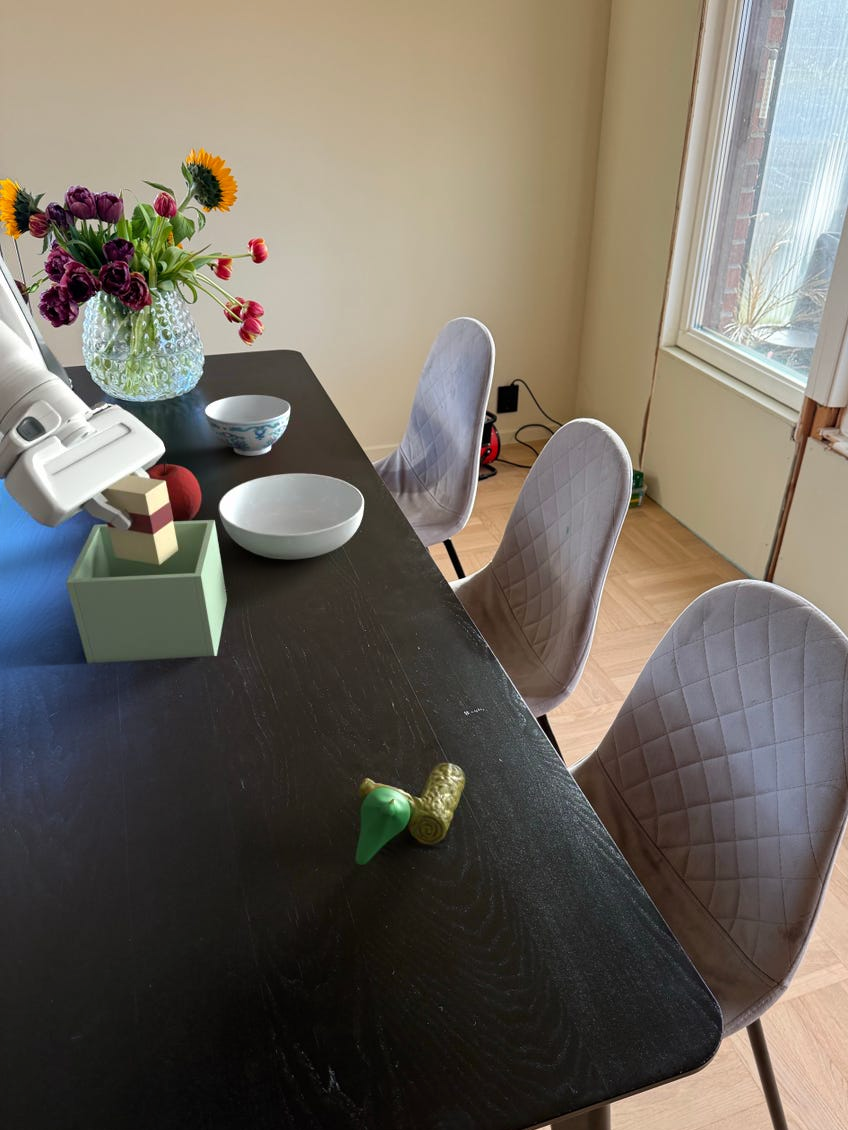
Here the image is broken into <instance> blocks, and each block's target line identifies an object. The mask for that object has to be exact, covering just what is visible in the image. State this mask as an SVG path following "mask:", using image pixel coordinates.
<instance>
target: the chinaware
mask: <svg viewBox="0 0 848 1130" xmlns="http://www.w3.org/2000/svg"><path fill="white" fill-rule="evenodd" d="M204 414H205V418H206V421H207V422H208V424H209V426H210V429H211V430H212V432H213V433H214V434H215V435H216V437H217V438H219V440H220V441H222V442H223V443H224V444H225V445H228V446H229V447H231V448H233V451H234V452H235V454H238V455H241V456H246V457H247V456H249V457H250V456H251V457H253V456H261V455H263V454H267V453H268V452H270V451H271V449H272V445H273V444H275V443H276V442H277V441H278V440H279V439H280V438H281V437H282V436H283V434H284V432H285V430H286V429H287V426H288V424H289V420H290V414H291V405H290V403H289V402H288V401H286V400H284V399H282V398H280V397H276V396H271V395H261V394H244V395H236V396H235V395H234V396H228V397H224V398H222V399H218V400H215V401H213V402H211V403H209V404H208V405H207V406H206V407H205V408H204Z"/></svg>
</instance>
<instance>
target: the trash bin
mask: <svg viewBox="0 0 848 1130" xmlns="http://www.w3.org/2000/svg"><path fill="white" fill-rule="evenodd" d="M173 524H174V529H175V535H176V540H177V545H178V551H177V552H175V553H174V554H173V555H172V556H170V557H169V558H168V559H167V560H165V561H164V562H163V563H161V564H160V565H156V564H151V563H145V562H140V561H134V560H129V559H123V558H117V557H115V553H114V549H113V544H112V540H111V536H110V531H109V527H108V526H107V523H105V524H103V523H102V524H94V525H93V526H92V529H90V533H89V535H88V536H87V539H86V540H85V543H84V545H83V546H82V549H81V551H80V553H79V555H78V557H77V559H76V561H75V562H74V565H73V567H72V569H71V571H70V573H69V576H68V578H67V579H66V581H65V586H66V588H67V592H68V596H69V600H70V603H71V607H72V612H73V614H74V618H75V621H76V626H77V630H78V634H79V637H80V640H81V645H82V649H83V651H84V656H85V659H86V663H87V664H100V663H117V662H119V663H120V662H134V661H135V662H136V661H153V660H169V659H170V660H171V659H185V658H187V659H188V658H200V657H203V658H205V657H218V652H219V651H218V650H219V647H220V640H221V634H222V629H223V623H224V618H225V613H226V608H227V602H228V598H227V597H228V596H227V592H226V586H225V585H226V584H225V579H224V578H225V577H224V572H223V565H222V559H221V553H220V547H219V546H220V545H219V541H218V532H217V527H216V521H215V519H205V520H190V521H176V522H173Z"/></svg>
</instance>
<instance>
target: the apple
mask: <svg viewBox="0 0 848 1130" xmlns="http://www.w3.org/2000/svg"><path fill="white" fill-rule="evenodd" d="M145 472H146V473H147V474H148V475H149V477H150V479H157V480H163V481H166V486H167V492H168V497H169V501H170V504H171V510H172V515H173V522H176V521H192V519H193V518H194V517H195V516H196V515H197V513H198V512H199V510H200V507H201V504H202V492H201V487H200V484H199V482H198V479H197V478H196V477H195V475H194V474H193V473H192V471H190V470H189V469H187V468H186V467H184V466H181V465H176V464H170V463H169V464H168V463H167V462H166V460H164V461H162V463H160V464H158V465H153V466H151V467H150V468H148V469H147V470H145Z"/></svg>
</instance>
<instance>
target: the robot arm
mask: <svg viewBox="0 0 848 1130" xmlns="http://www.w3.org/2000/svg"><path fill="white" fill-rule="evenodd" d="M165 452H166V448H165V444H164V441H163V440H162V439H161V438H160V437H159V436H158V435H156V433H154V432H153V431H152V430H151V429H150V428H149V427H147V426H146V425H145V424H144V423H143V422H142V421H141V420H139V418H137V417H136V416H135V415H134V414H132V413H131V412H129V411H127V410H125V409H124V408H122V407H121V406H120V405H118V404H113V403H110V402H106V401H99V402H97V403H95V404H94V405H92V406H88V405H87V404H86V403H85V402H84V401H83V400H82V399H81V398H80V397H79V396H78V395H77V394H76V393H75V392H74V391H73V390H72V385H71V381H70V378H69V375H68V374H67V371H66V370H65V368H64V367H63V365H62V364H61V362H60V361H59V359H58V358H57V357H56V355H55V354H54V352H53V351H52V350H51V348H50V347H49V345H48V344H47V342H46V340H45V338H44V337H43V335H42V333H41V331H40V329H39V328H38V325H37V323H36V321H35V320H34V317H33V315H32V313H31V312H30V309H29V308H28V306H27V304H26V301H25V300H24V297H23V296H22V294H21V292H20V290H19V288H18V286H17V283H16V282H15V279H14V277H13V276H12V274H11V272H10V269H9V268H8V266H7V264H6V262H5V260H4V258H3V256H2V255H1V253H0V480H4V487H5V489H6V491H7V493H8V494H9V495H10V496H11V497H12V499H13V500H14V501H15V502H16V503H17V504H18V505H19V506H20V507H21V509H23V510H24V511H25V512H26V513H27V514H28V515H29V516H30V517H31V518H32V519H33V520H34V521H36V522H37V523H38V524H40V525H42V526H44V527H48V528H51V529H54V528H56V527H59V526H60V525H62V523H64V522H66V521H68V520H69V519H71V518H73V517H74V516H75V515H77V514H78V513H80V512H82V511H83V510H85V511H87V512H88V513H89V514H90V515H91V516H92V517H93V518H96V519H99V520H101V521H104V522H106V523H107V522H109V523H110V522H111V523H112V524H113V525H114V526H115V527H116V528H117V529H118V530H119V531H120V532H125V531H126V530H128V529H129V528H130V527H131V526H132V525H133V524H134V523H135V518H134V517H133V516H131V515H130V513H129V512H128V511H127V510H126V509H125V510H123V511H119V510H118V509H116V508H114V507H112V506H110V505H108V504H106V502H107V499H106V498H105V497H104V496H103V495H102V494H101V492H102V491H104V490H105V489H107V488H109V487H110V486H112V485H113V484H115V483H117V482H118V481H120V480H121V479H123V478H125V477H126V476H128V475H131V476H137V477H144V478H150V477H149V475H148V474H147V473H146V471H148V470H149V469H150V468H152V467H154V466H155V464H156V463H157V462H158V461H159V460H160V459H161V458H162V456H163V455H164V454H165Z"/></svg>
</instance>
